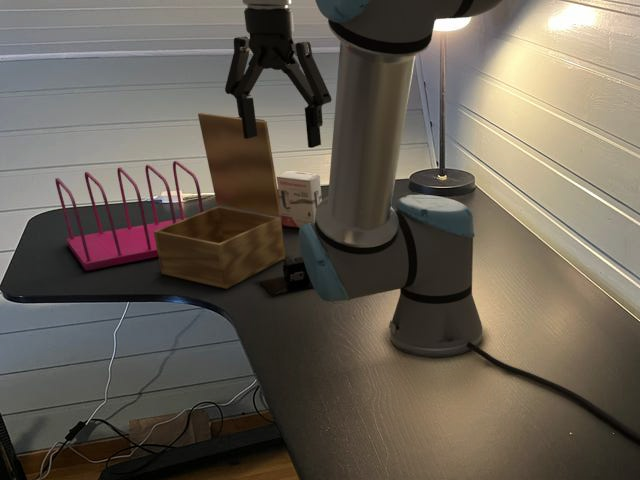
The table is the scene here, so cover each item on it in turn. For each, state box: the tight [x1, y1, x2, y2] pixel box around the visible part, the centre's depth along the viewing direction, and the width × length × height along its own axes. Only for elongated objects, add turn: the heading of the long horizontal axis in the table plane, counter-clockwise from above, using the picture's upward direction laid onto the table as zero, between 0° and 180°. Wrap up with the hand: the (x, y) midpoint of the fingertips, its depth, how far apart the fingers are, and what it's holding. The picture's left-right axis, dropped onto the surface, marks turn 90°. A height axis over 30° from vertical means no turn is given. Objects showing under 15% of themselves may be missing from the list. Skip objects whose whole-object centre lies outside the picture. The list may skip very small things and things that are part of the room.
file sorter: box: [54, 160, 204, 272], centre depth 151 cm, size 17×25×16 cm
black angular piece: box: [260, 256, 314, 297], centre depth 139 cm, size 12×7×5 cm, turn 123°
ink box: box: [276, 170, 323, 229], centre depth 166 cm, size 9×5×12 cm, turn 73°
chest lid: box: [197, 112, 282, 217], centre depth 146 cm, size 18×16×7 cm
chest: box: [153, 205, 286, 290], centre depth 145 cm, size 18×16×9 cm
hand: (282, 141), depth 127 cm, fingers open, 13 cm apart
